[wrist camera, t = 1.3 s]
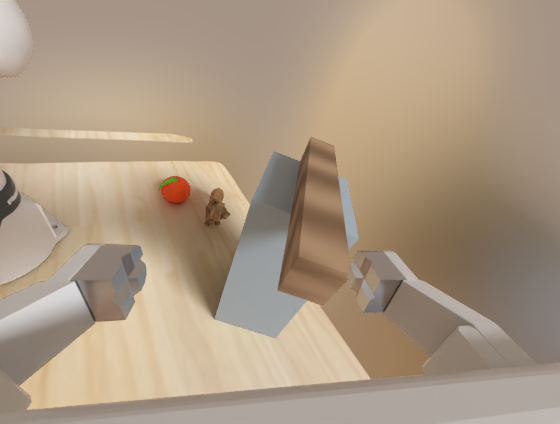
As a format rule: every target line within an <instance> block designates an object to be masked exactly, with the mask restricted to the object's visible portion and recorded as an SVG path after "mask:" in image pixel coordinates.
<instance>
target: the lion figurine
mask: <svg viewBox="0 0 560 424" xmlns="http://www.w3.org/2000/svg"><path fill="white" fill-rule="evenodd" d="M223 197H224V196H223V191H222V190H221V189H220V188H218V189H214V190H213V191H212V193H211V197H210V201H209V204H208V205H207V207H206V222H205V223H204V224H205V225H206V226H209V224H210V220H211V221H215V224H216V225H219V224H220V222H219V221H220V220H221V219H222V218H223V219H226V218H227V217H228V216H229V215H230V214H229V213H228V212H227V211H226V208H225V206H224V205H225V203H222V200H223Z"/></svg>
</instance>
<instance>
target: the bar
mask: <svg viewBox="0 0 560 424" xmlns="http://www.w3.org/2000/svg"><path fill="white" fill-rule="evenodd" d="M350 265H351V264H350V257H349V250H348V243H347V236H346V229H345V221H344V214H343V207H342V200H341V193H340V186H339V179H338V172H337V165H336V157H335V150H334V146H333V145H330V144H328V143H325V142H323V141H320V140H318V139H315V138H313V137H311V138H310V140H309V143H308V145H307V147H306V149H305V152H304V154H303V156H302V159H301V161H300V166H299V171H298V177H297V183H296V188H295V194H294V200H293V205H292V211H291V217H290V222H289V228H288V234H287V239H286V245H285V251H284V256H283V262H282V267H281V273H280V279H279V284H278V290H277V291H280V292H283V293H286V294H289V295H292V296H295V297H298V298H301V299H305V300H308V301H311V302H314V303H317V304H320V305H324V304H325V303H326V302H327V301H328V300H329V299H330V298H331V297H332V296H333V295H334V294H335V292H336V291H337V290H338V289H339V288H340V287H341V286H342V285H343V284H344V283H345V282H346V281H347V280H348V269H349V266H350Z"/></svg>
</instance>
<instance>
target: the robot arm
mask: <svg viewBox="0 0 560 424" xmlns="http://www.w3.org/2000/svg"><path fill="white" fill-rule="evenodd" d="M32 56H33V38H32V34H31V30H30V27H29V25H28V23H27V20H26V18H25V16H24V14H23V12H22V11H21V9H20V7H19V6H18V4H17V3H16V1H15V0H0V77H17V76H19V75H20V74H22V73H23V72H24V71H25V70H26V69H27V67H28V66H29V64H30V62H31V59H32ZM67 233H68V229H67V228H66V226H64V225H63V224H62V223H61V222H59V221H58V220H57V219H56V218H54V217H53V216H52V215H51V214H49V213H48V212H47V211H45V210H44V209H43V208H42V207H41V206H40V205H39V204H37V203H35V202H34V201H33V200H32V199H30V198H29V197H28V196H27V195H25V194H24V193H21V192H19V191H18V188H17V186H16V184H15V182H14V181H13V180H12V179H11V178H10V176H9V175H8V174H7V173H6V172H4V171H3V170H1V168H0V285H2V284H5V283H8V282H10V281H13V280H15V279H17V278H19V277H21V276H23V275H25V274H27V273H28V272H30V271H32V270H33V269H35V268H36V267H37V266H39V265H40V264H41V263H42V262H43V261H44V260H45V259H46V258H47V257H48V256H49V255H50V253H51V252H52V250H53V248H54V246H55V244H56V243H57V242H58V241H59V240H61V239H62V238H63V237H64V236H66V235H67ZM142 255H143V253H142V250H141V247H140V246H138V245H118V244H86V245H84V246H83V247H82V248H81V249H80V250H79V251H78V252H77V253H75V254H74V255H73V256H72V257H71V258H70V259H69V260H68V261H67V262H66V263H65V264H64V265H63V266H62V267H61V268H60V269H59V270H58V271H57V272H56V273H55V274H54V275H53V276H52V277H51V278H50V279H49V280H48V281H40V282H38V283H36V284H34V285H32V286H30V287H28V288H25V289H23V290H21V291H19V292H17V293H15V294H13V295H11V296H9V297H6V298H4V299H2V300H0V424H560V363H550V364H539V365H537V364H536V363H535V362H534V361H533V360H532V359H531V358H530V357H529V356H528V355H527V354H526V353H525V352H524V351H523V350H522V349H521V348H520V347H519V346H518V345H517V344H516V343H515V342H514V341H513V340H512V339H511V338H510V337H509V336H508V335H507V334H506V333H505V332H504V331H503V330H502V329H501V328H500V327H499V326H497V324H496V323H494V322H492V321H490V320H489V319H487V318H485V317H484V316H482V315H480V314H478V313H477V312H475V311H474V310H472V309H470V308H468V307H467V306H465V305H463V304H462V303H460V302H458V301H456V300H455V299H453V298H451V297H450V296H448V295H446V294H445V293H443V292H441V291H439V290H438V289H436V288H434V287H433V286H431V285H429V284H428V283H426V282H424V281H422V280H421V281H420V280H418V279H417V278H416V276H415V275H414V274H413V273H412V272H411V271H410V269H409V268H408V267H407V266H406V265H405V264H404V263H403V261H402V260H401V259H400V258H399V257H398V256H397V254H396V253H394V252H393V251H357V252H356V253H355V254H354V256H353V259H354V263H353V264H351V265H350V266H349V269H348V282H349V285H350V287H351V289H352V290H354V291H355V292H356V293H357V295H356V299H357V301H358V303H359V305H360V307H361V309H362V311H363V313H383V314H384V315H385V316H386V317H387V318H388V319H389V320H390V321H391V322H392V323H394V324H395V325H396V326H397V327H398V328H399V329H400V330H401V331H402V332H403V333H404V334H405V335H406V336H408V337H409V338H410V339H411V340H412V341H413V342H414V343H415V344H416V345H417V346H418V347H419V348H420V349H422V350H423V351H424V352H425V353H426V354H427V355H428V356H429V357H430V358H429V359H428V360H427V361H426V362H425V363H424V364H423V367H422V369H423V371H424V373H425V375H415V376H403V377H392V378H381V379H370V380H358V381H347V382H336V383H324V384H313V385H302V386H291V387H279V388H268V389H257V390H245V391H234V392H223V393H211V394H200V395H189V396H178V397H167V398H155V399H144V400H133V401H122V402H110V403H99V404H88V405H77V406H66V407H54V408H43V409H32V410H26V409H27V408H28V406H29V405H30V403H31V397H30V395H29V394H27V393H26V392H25V391H24V390H23V389H22V388H21V387H20V386H19V385H21V384H22V383H23V382H24V381H25V380H27V379H28V378H29V377H30V376H32V375H33V374H34V373H35V372H36V371H38V370H39V369H40V368H41V367H43V366H44V365H45V364H46V363H47V362H49V361H50V360H51V359H52V358H53V357H55V356H56V355H57V354H58V353H60V352H61V351H62V350H63V349H64V348H66V347H67V346H68V345H69V344H70V343H72V342H73V341H74V340H75V339H77V338H78V337H79V336H80V335H81V334H83V333H84V332H85V331H86V330H87V329H89V328H90V327H91V326H92V325H94V324H95V322H98V321H116V320H126V318H127V316H128V314H129V312H130V310H131V308H132V306H133V305H134V303H135V300H134V297H133V296H134V295H135V294H137V293H138V292H140V291H141V289H142V287H143V285H144V283H145V278H146V266H145V263H143V262H142V261H141V260H140V258H141V256H142Z"/></svg>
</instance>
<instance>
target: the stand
mask: <svg viewBox="0 0 560 424" xmlns="http://www.w3.org/2000/svg"><path fill="white" fill-rule="evenodd" d="M299 166H300V161H298V160H295V159H292V158H290V157H287V156H285V155H282V154H279V153H277V152H273V154H272V156H271V159H270V161H269V163H268V165H267V168H266V170H265V172H264V174H263V176H262V179H261V181H260V183H259V185H258V187H257V190H256V192H255V194H254V196H253V199H252V202H251V205H250V208H249V211H248V214H247V217H246V220H245V224H244V227H243V230H242V233H241V236H240V239H239V243H238V246H237V249H236V252H235V255H234V258H233V262H232V265H231V268H230V271H229V274H228V277H227V281H226V284H225V287H224V290H223V293H222V296H221V299H220V303H219V306H218V309H217V312H216V315H215V318H214V319H216V320H219V321H222V322H225V323H228V324H232V325H235V326H238V327H241V328H245V329H248V330H251V331H254V332H257V333H261V334H264V335H267V336H270V337H273V338H276V337H277V336H278V334H279V333H280V332H281V331H282V330H283V328H284V327H285V326H286V325H287V324H288V322H289V321H290V320H291V319H292V318H293V316H294V315H295V314H296V313H297V312H298V310H299V309H300V308H301V307H302V306H303V304H304V303H305V302H306V301H307V300H305V299H301V298H298V297H295V296H292V295H289V294H286V293H283V292H280V291H277V290H278V284H279V279H280V273H281V267H282V262H283V256H284V251H285V245H286V239H287V234H288V228H289V222H290V217H291V211H292V205H293V200H294V194H295V188H296V183H297V177H298V171H299ZM338 179H339V186H340V193H341V200H342V207H343V214H344V221H345V229H346V236H347V243H348V250H349V249H350V248H351V247H352V246H353V245H354V243H355V242H356V241H357V240H358V239H359V237H358V232H357V227H356V223H355V217H354V212H353V207H352V203H351V198H350V193H349V188H348V183H347V180H346V179H344V178H341V177H339V176H338Z"/></svg>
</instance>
